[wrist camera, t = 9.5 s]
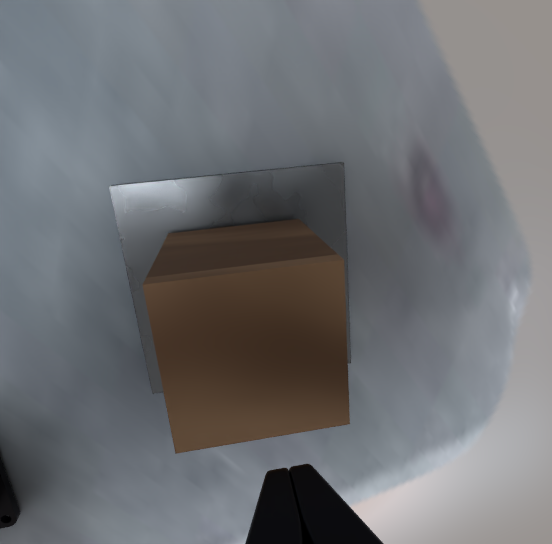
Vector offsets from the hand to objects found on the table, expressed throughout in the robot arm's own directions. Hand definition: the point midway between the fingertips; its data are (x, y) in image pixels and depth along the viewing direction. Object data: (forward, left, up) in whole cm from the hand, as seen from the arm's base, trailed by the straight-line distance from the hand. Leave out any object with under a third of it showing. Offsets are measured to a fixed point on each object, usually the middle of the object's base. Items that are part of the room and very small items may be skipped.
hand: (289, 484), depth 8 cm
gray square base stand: (0, 0, -12) cm, 12 cm away
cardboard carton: (0, 0, -11) cm, 11 cm away
